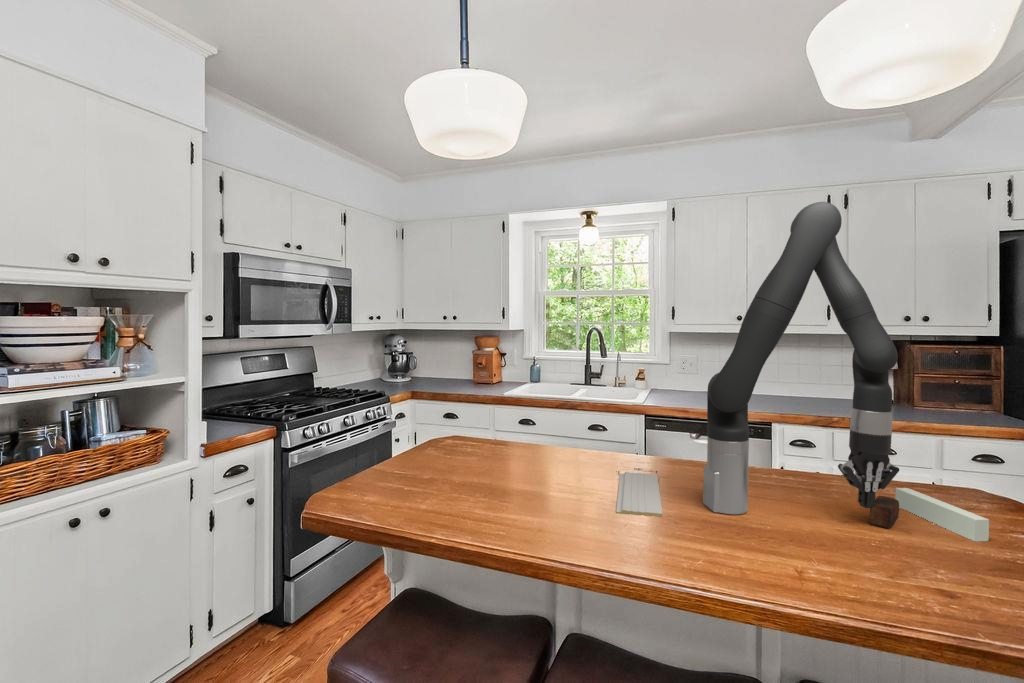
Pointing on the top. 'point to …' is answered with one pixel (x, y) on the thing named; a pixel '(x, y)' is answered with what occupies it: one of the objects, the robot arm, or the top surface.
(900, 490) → the board
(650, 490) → the baseboard molding
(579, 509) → the top surface
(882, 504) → the brick
